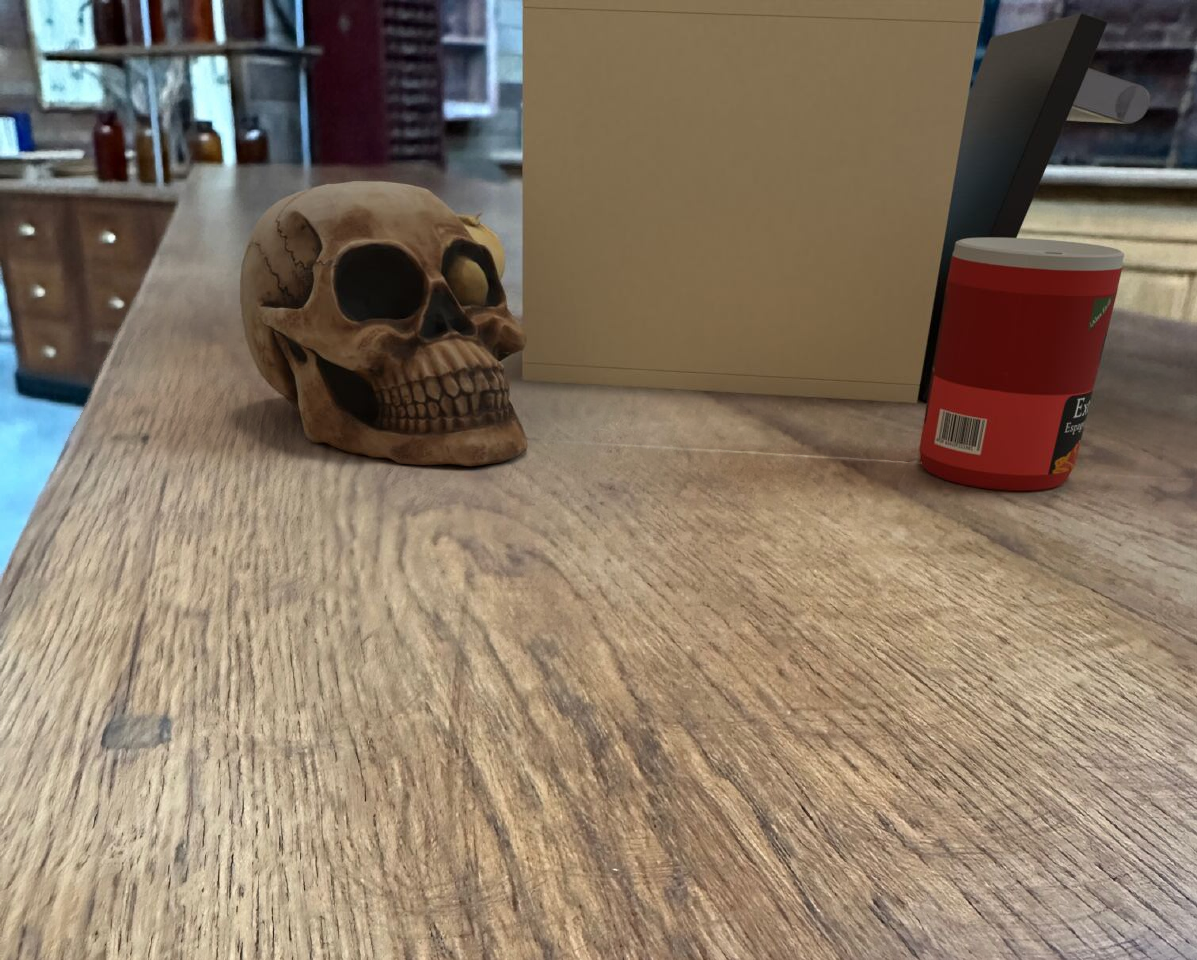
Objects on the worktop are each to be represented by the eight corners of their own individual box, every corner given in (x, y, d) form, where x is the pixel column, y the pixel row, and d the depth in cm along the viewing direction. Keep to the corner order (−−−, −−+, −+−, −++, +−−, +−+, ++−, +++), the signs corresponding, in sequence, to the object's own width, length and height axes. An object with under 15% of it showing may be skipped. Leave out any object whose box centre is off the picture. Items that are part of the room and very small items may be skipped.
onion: (408, 294, 111) (404, 210, 107) (444, 284, 117) (441, 204, 113) (486, 301, 108) (485, 215, 105) (518, 290, 115) (518, 209, 111)
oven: (875, 332, 100) (920, 25, 89) (916, 404, 77) (985, -4, 65) (574, 316, 102) (580, 14, 91) (522, 381, 78) (522, -18, 67)
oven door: (952, 352, 101) (1072, 64, 89) (1017, 429, 77) (1192, 49, 65) (879, 328, 100) (991, 36, 89) (922, 399, 76) (1081, 12, 65)
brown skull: (506, 469, 59) (476, 168, 53) (194, 477, 63) (132, 195, 56) (574, 413, 73) (556, 168, 66) (314, 422, 76) (274, 190, 70)
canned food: (1084, 498, 59) (1143, 258, 53) (921, 486, 60) (963, 249, 54) (1057, 459, 65) (1107, 242, 60) (911, 448, 66) (947, 234, 61)
